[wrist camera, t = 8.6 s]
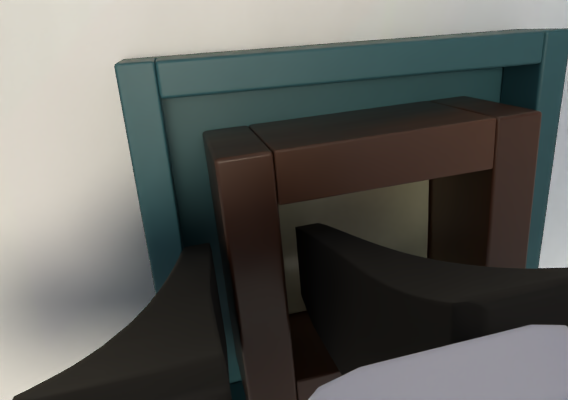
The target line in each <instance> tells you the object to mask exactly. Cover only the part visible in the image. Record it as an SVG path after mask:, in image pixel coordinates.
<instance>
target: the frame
mask: <svg viewBox="0 0 568 400" xmlns="http://www.w3.org/2000/svg"><path fill="white" fill-rule="evenodd" d="M541 118H542V113H541V112H540V111H537V110H532V109H527V108H522V107H517V106H512V105H507V104H502V103H497V102H492V101H487V100H482V99H477V98H472V97H467V96H460V97H453V98H445V99H438V100H431V101H421V102H414V103H407V104H399V105H392V106H385V107H377V108H370V109H363V110H355V111H348V112H341V113H333V114H326V115H318V116H311V117H304V118H296V119H289V120H282V121H274V122H267V123H260V124H252V125H249V127H248V126H240V127H232V128H225V129H218V130H210V131H205V132H203V141H204V148H205V155H206V161H207V168H208V174H209V181H210V188H211V194H212V201H213V207H214V214H215V220H216V227H217V234H218V240H219V247H220V253H221V260H222V266H223V273H224V280H225V286H226V293H227V299H228V306H229V313H230V319H231V326H232V332H233V339H234V345H235V352H236V358H237V362H238V366H239V370H240V375H241V379H242V383H243V388H244V392H245V396H246V400H308V399H309V398H310V397H311V395H312V394H313V393H314V392H315V391H316V390H317V388H318V387H320V386H322V385H324V384H326V383H328V382H330V381H332V380H334V379H336V378H338V377H340V376H342V375H341V373H340V371H339V370H338V368H337V366H336V364H335V363H334V361H333V359H332V358H331V356H330V354H329V352H328V351H327V349H326V347H325V345H324V344H323V342H322V340H321V338H320V337H319V335H318V333H317V331H316V330H315V328H314V326H313V324H312V322H311V319H310V317H309V314H308V312H307V309H306V306H305V304H304V301H303V299H302V296H301V287H300V276H299V264H298V253H297V242H296V230H295V227H298V226H303V225H309V224H314V223H321V224H325V225H328V226H330V227H333V228H336V229H338V230H341V231H343V232H346V233H348V234H351V235H354V236H356V237H359V238H361V239H364V240H367V241H369V242H372V243H375V244H378V245H381V246H384V247H387V248H390V249H394V250H397V251H400V252H404V253H407V254H411V255H416V256H420V257H425V258H429V259H434V260H439V261H445V262H451V263H459V264H467V265H475V266H486V267H500V268H524V269H526V261H527V251H528V242H529V232H530V223H531V213H532V204H533V194H534V185H535V175H536V166H537V156H538V147H539V137H540V128H541Z"/></svg>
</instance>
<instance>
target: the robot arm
mask: <svg viewBox="0 0 568 400" xmlns="http://www.w3.org/2000/svg"><path fill="white" fill-rule="evenodd" d="M295 230H296V242H297V253H298V264H299V276H300V287H301V296H302V299H303V301H304V304H305V306H306V309H307V312H308V314H309V317H310V319H311V322H312V324H313V326H314V328H315V330H316V331H317V333H318V335H319V337H320V338H321V340H322V342H323V344H324V345H325V347H326V349H327V351H328V352H329V354H330V356H331V358H332V359H333V361H334V363H335V364H336V366H337V368H338V370H339V371H340V373H341V375H342V376H340V377H338V378H336V379H334V380H332V381H330V382H328V383H326V384H324V385H322V386H320V387H318V388H317V390H316V391H315V392H314V393H313V394H312V395H311V397H310V398H309V399H308V400H568V268H537V269H524V268H500V267H486V266H475V265H467V264H459V263H451V262H445V261H439V260H434V259H429V258H425V257H420V256H416V255H411V254H407V253H404V252H400V251H397V250H394V249H390V248H387V247H384V246H381V245H378V244H375V243H372V242H369V241H367V240H364V239H361V238H359V237H356V236H354V235H351V234H348V233H346V232H343V231H341V230H338V229H336V228H333V227H330V226H328V225H325V224H321V223H314V224H309V225H303V226H298V227H295ZM13 400H232V397H231V390H230V382H229V369H228V356H227V344H226V337H225V331H224V325H223V318H222V312H221V306H220V299H219V293H218V287H217V281H216V274H215V268H214V262H213V255H212V249H211V246H210V243H204V244H199V245H193V246H188V247H185V248H184V249H183V250H182V252H181V253H180V256H179V258H178V260H177V262H176V264H175V266H174V268H173V269H172V271H171V273H170V274H169V276H168V278H167V279H166V281H165V282H164V284H163V285H162V287H161V288H160V290H159V291H158V292H157V294H156V295H155V296H154V298H153V299H152V300H151V302H150V303H149V304H148V305H147V307H146V308H145V309H144V310H143V311H142V312H141V313H140V314H139V315H138V316H137V317H136V318H135V319H134V320H133V321H132V322H131V323H130V324H129V325H128V326H126V327H125V328H124V329H123V330H121V331H120V332H119V333H118V334H117V335H115V336H114V337H113V338H112V339H110V340H109V341H108V342H107V343H106V344H104V345H103V346H102V347H100V348H99V349H97V350H96V351H94V352H93V353H92V354H90V355H89V356H87V357H86V358H84V359H82V360H81V361H79V362H78V363H76V364H75V365H73V366H71V367H70V368H68V369H66V370H64V371H63V372H61V373H59V374H57V375H55V376H54V377H52V378H50V379H48V380H46V381H44V382H42V383H40V384H38V385H36V386H34V387H32V388H30V389H29V390H27V391H25V392H22V393H20V394H18V395H16V396H14V398H13Z"/></svg>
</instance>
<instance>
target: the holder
mask: <svg viewBox="0 0 568 400" xmlns="http://www.w3.org/2000/svg"><path fill="white" fill-rule="evenodd" d="M567 59H568V28H567V29H515V30H502V31H489V32H476V33H462V34H449V35H436V36H423V37H410V38H397V39H384V40H370V41H357V42H344V43H331V44H318V45H305V46H292V47H278V48H265V49H252V50H239V51H226V52H213V53H200V54H186V55H173V56H160V57H147V58H134V59H123V60H122V61H120V62H118V63H117V64H115V66H114V67H115V72H116V78H117V83H118V89H119V94H120V100H121V105H122V111H123V116H124V122H125V127H126V133H127V138H128V144H129V149H130V155H131V160H132V166H133V172H134V177H135V183H136V188H137V194H138V199H139V205H140V210H141V216H142V221H143V227H144V232H145V238H146V243H147V249H148V254H149V260H150V265H151V271H152V276H153V282H154V287H155V293H156V294H157V292H158V291H159V290H160V288H161V287H162V285H163V284H164V282H165V281H166V279H167V278H168V276H169V274H170V273H171V271H172V269H173V268H174V266H175V264H176V262H177V260H178V258H179V256H180V253H181V252H182V250H183V249H184V248H185V247H188V246H193V245H199V244H204V243H210V246H211V249H212V255H213V262H214V268H215V274H216V281H217V287H218V293H219V299H220V306H221V312H222V318H223V325H224V331H225V337H226V344H227V356H228V369H229V382H230V390H231V397H232V400H246V396H245V392H244V388H243V383H242V379H241V375H240V370H239V366H238V362H237V358H236V352H235V345H234V339H233V332H232V326H231V319H230V313H229V306H228V299H227V293H226V286H225V280H224V273H223V266H222V260H221V253H220V247H219V240H218V234H217V227H216V220H215V214H214V207H213V201H212V194H211V188H210V181H209V174H208V168H207V161H206V155H205V148H204V141H203V132H205V131H210V130H218V129H225V128H232V127H240V126H248V127H249V125H252V124H260V123H267V122H274V121H282V120H289V119H296V118H304V117H311V116H318V115H326V114H333V113H341V112H348V111H355V110H363V109H370V108H377V107H385V106H392V105H399V104H407V103H414V102H421V101H431V100H438V99H445V98H453V97H460V96H467V97H472V98H477V99H482V100H487V101H492V102H497V103H502V104H507V105H512V106H517V107H522V108H527V109H532V110H537V111H540V112H541V113H542V118H541V128H540V137H539V147H538V156H537V166H536V175H535V185H534V194H533V204H532V213H531V223H530V232H529V242H528V251H527V261H526V269H537V268H538V266H539V258H540V251H541V244H542V237H543V230H544V223H545V216H546V209H547V202H548V194H549V187H550V180H551V173H552V166H553V159H554V152H555V145H556V138H557V130H558V123H559V116H560V109H561V102H562V95H563V88H564V81H565V74H566V67H567Z"/></svg>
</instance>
